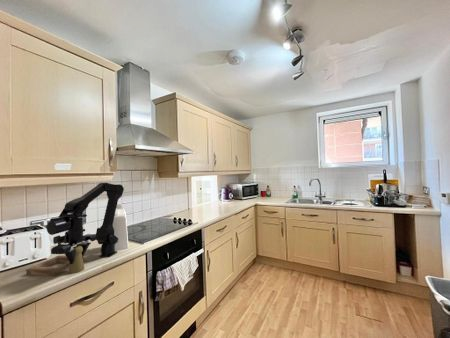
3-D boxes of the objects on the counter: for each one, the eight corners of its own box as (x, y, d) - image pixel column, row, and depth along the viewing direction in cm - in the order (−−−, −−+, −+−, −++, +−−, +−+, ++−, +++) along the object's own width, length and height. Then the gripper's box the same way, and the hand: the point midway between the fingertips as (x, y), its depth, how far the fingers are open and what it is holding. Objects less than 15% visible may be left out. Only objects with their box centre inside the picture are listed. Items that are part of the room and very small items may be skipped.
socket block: (58, 260, 105) (58, 255, 105) (83, 261, 103) (83, 256, 103) (26, 274, 90) (26, 269, 90) (54, 276, 88) (54, 270, 88)
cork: (87, 267, 96) (86, 244, 96) (78, 273, 90) (78, 248, 90) (74, 267, 96) (74, 244, 96) (64, 274, 89) (64, 249, 90)
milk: (128, 242, 129) (126, 202, 130) (127, 248, 119) (126, 204, 119) (106, 245, 124) (105, 204, 125) (104, 252, 114) (103, 206, 114)
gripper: (77, 223, 103) (78, 253, 103) (39, 234, 85) (40, 271, 85) (96, 223, 102) (97, 253, 101) (62, 234, 83) (63, 272, 83)
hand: (76, 261), depth 93 cm, fingers closed on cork, 4 cm apart
